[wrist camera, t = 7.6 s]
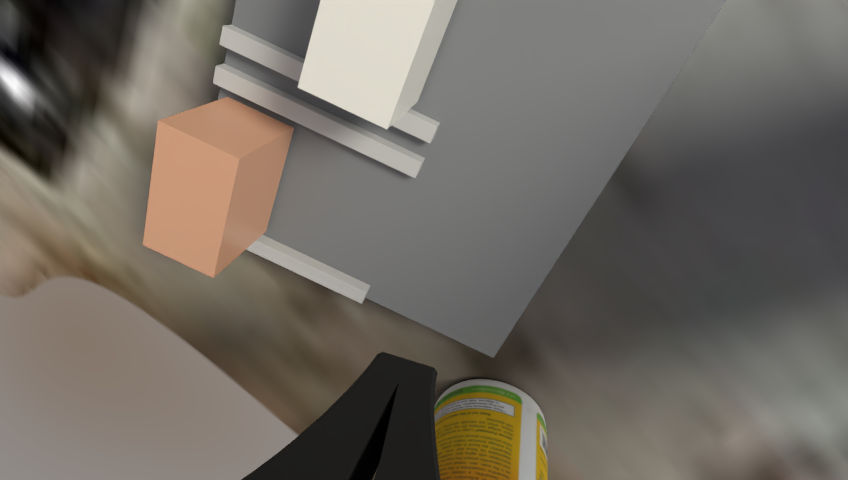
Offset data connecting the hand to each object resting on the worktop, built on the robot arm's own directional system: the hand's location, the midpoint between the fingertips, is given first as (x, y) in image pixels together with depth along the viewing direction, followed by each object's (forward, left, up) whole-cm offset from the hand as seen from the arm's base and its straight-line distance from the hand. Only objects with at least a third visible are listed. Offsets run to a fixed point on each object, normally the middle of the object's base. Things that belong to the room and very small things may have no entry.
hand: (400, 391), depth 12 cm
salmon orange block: (+8, +1, -7) cm, 11 cm away
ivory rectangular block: (+4, -7, -7) cm, 11 cm away
